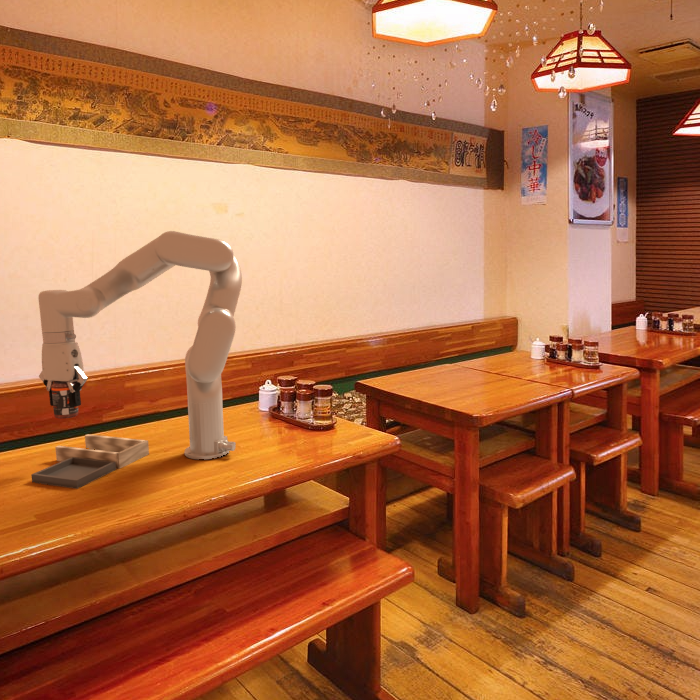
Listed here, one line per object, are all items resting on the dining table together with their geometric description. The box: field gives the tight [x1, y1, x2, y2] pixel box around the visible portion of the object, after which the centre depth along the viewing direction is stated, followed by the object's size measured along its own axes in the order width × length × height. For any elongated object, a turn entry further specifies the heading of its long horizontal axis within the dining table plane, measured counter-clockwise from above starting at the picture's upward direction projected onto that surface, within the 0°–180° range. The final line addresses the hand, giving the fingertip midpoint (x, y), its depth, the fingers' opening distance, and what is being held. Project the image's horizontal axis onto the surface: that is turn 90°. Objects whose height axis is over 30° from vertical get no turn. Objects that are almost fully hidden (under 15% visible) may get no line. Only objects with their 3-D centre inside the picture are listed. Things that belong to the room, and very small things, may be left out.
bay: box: [55, 433, 150, 469], centre depth 172 cm, size 21×12×4 cm, turn 71°
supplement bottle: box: [51, 381, 79, 419], centre depth 162 cm, size 6×6×11 cm
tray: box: [31, 457, 117, 489], centre depth 158 cm, size 14×14×2 cm
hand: (65, 404), depth 163 cm, fingers closed on supplement bottle, 6 cm apart
